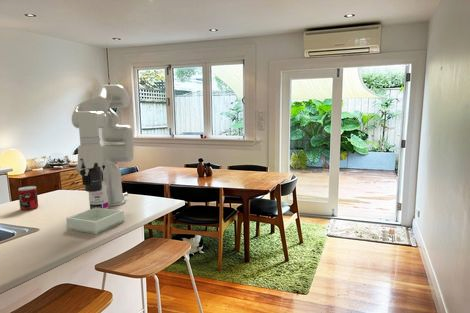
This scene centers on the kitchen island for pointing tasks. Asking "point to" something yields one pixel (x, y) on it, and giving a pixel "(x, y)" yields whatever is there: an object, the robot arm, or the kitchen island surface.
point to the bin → (95, 220)
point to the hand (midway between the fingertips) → (93, 182)
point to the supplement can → (99, 198)
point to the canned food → (28, 198)
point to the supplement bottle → (94, 179)
